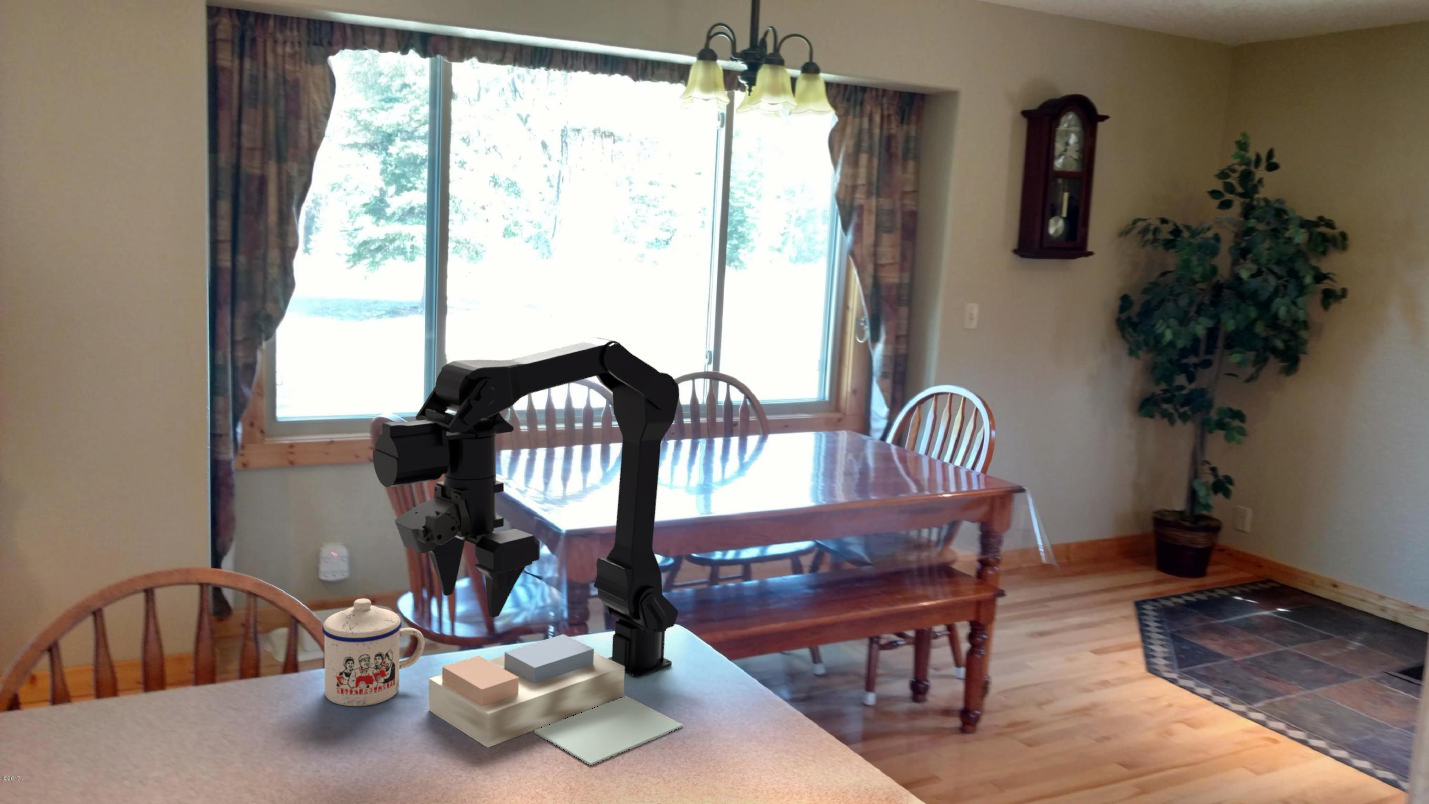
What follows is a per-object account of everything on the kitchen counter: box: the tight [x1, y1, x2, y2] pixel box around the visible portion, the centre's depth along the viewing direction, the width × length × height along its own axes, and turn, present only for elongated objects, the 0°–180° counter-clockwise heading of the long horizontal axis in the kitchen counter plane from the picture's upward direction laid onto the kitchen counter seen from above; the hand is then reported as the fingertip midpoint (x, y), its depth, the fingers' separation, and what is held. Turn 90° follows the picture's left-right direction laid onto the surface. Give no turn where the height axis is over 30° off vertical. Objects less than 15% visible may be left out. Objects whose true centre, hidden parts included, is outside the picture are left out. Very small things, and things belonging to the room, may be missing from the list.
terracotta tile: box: [441, 655, 519, 706], centre depth 124 cm, size 5×8×2 cm, turn 46°
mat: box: [534, 695, 684, 766], centre depth 124 cm, size 14×10×1 cm
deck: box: [428, 651, 625, 748], centre depth 130 cm, size 20×12×4 cm, turn 136°
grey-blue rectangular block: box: [503, 633, 595, 684], centre depth 131 cm, size 9×6×2 cm, turn 136°
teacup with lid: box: [321, 598, 425, 707], centre depth 131 cm, size 12×9×12 cm
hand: (470, 605), depth 124 cm, fingers open, 9 cm apart
